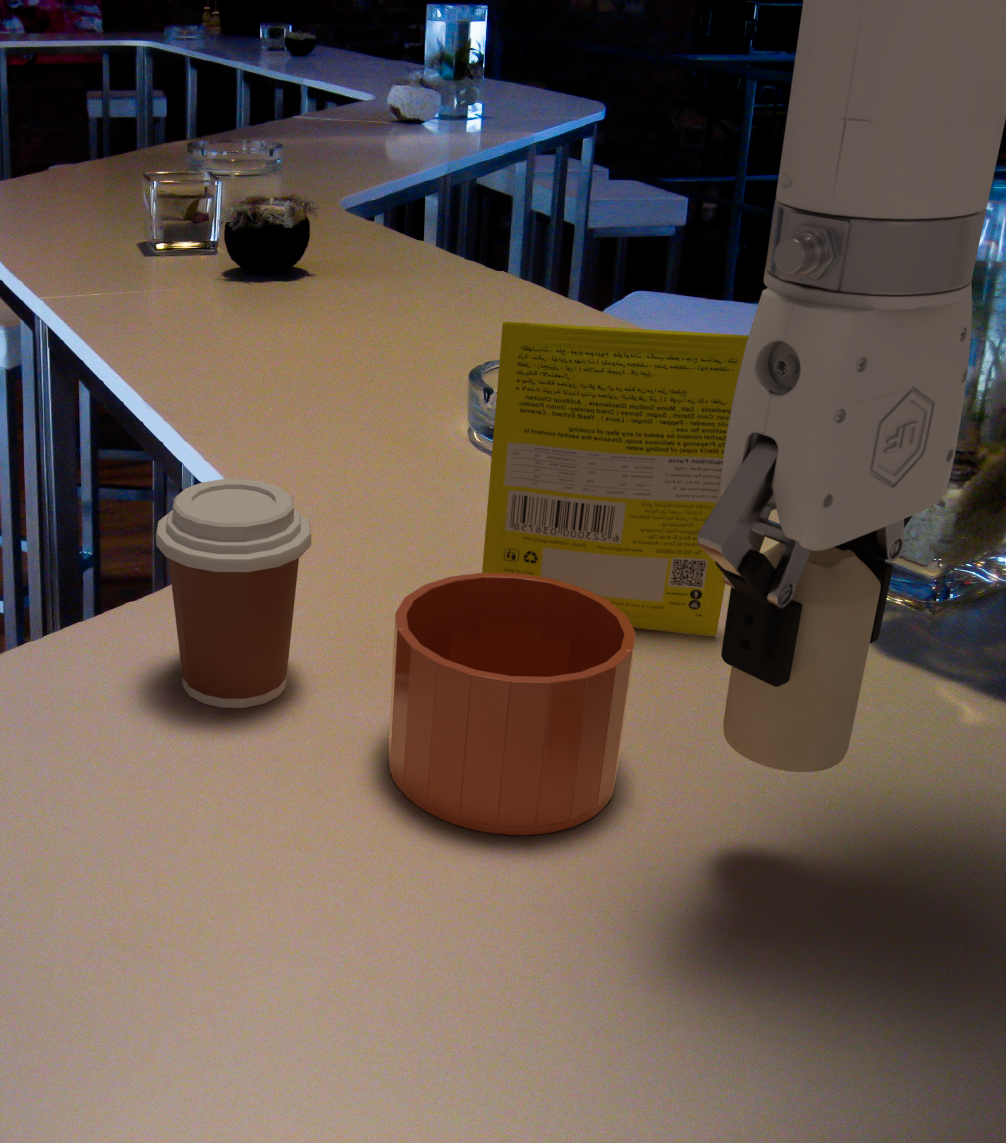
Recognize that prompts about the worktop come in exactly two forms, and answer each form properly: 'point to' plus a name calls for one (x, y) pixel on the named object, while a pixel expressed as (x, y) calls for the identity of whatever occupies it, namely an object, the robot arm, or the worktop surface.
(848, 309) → the robot arm
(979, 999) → the worktop surface
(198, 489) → the coffee cup
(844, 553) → the candle
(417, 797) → the pot cup
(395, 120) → the worktop surface
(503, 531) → the food package
